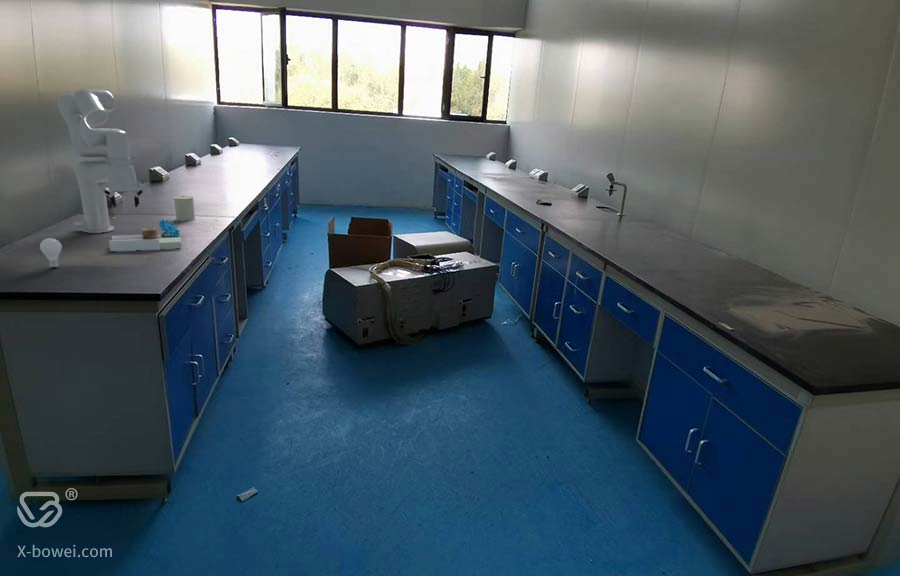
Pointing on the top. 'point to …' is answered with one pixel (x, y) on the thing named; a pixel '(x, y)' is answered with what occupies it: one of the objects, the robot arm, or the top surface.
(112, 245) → the trough
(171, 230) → the gear
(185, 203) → the can
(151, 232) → the block
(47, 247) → the lightbulb
